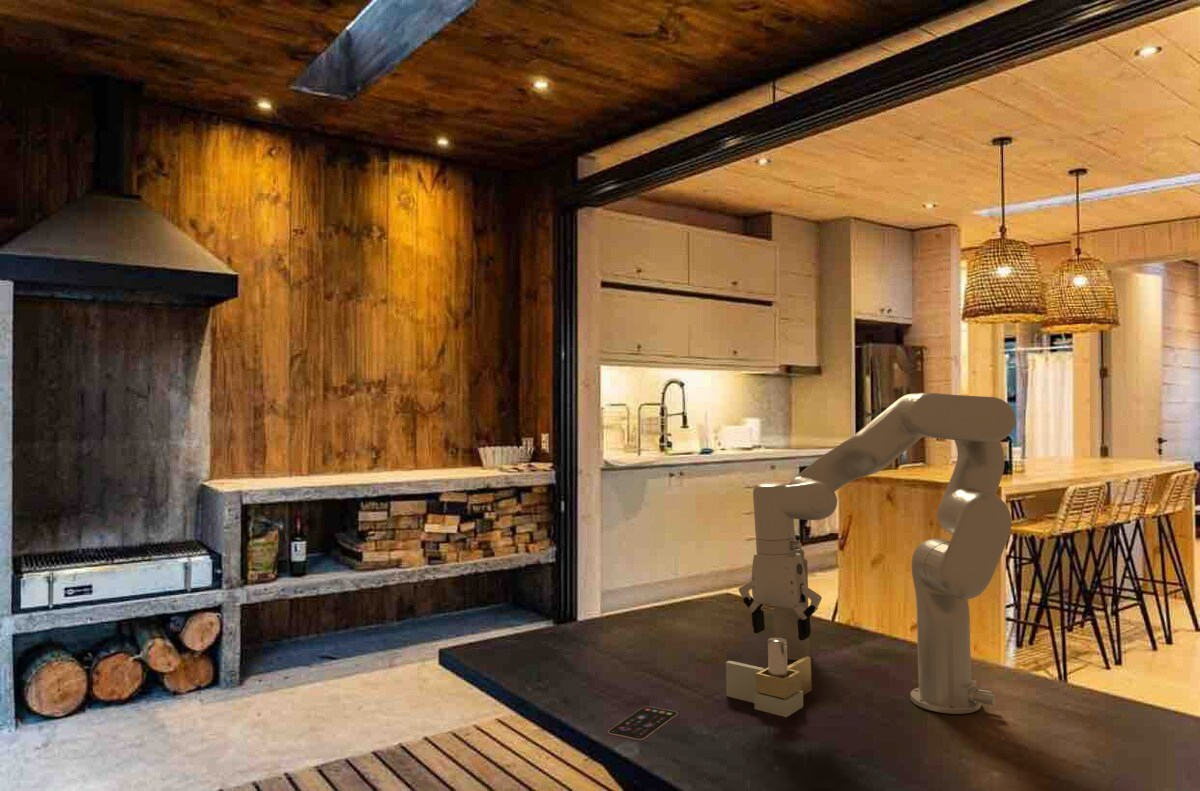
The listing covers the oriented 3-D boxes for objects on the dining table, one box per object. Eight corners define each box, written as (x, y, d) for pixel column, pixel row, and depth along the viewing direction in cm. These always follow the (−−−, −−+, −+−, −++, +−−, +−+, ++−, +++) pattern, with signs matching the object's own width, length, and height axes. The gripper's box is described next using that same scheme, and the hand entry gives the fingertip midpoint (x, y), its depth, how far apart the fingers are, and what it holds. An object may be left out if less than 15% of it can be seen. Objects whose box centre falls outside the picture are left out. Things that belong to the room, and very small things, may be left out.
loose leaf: (803, 706, 156) (802, 671, 157) (786, 717, 151) (785, 680, 151) (737, 690, 166) (736, 657, 166) (719, 699, 161) (718, 665, 161)
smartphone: (679, 711, 154) (642, 740, 142) (679, 715, 154) (642, 743, 142) (645, 705, 158) (605, 732, 146) (645, 708, 158) (605, 735, 146)
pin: (791, 707, 156) (790, 639, 157) (782, 712, 154) (780, 644, 154) (775, 703, 159) (773, 636, 159) (766, 708, 156) (764, 640, 156)
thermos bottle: (772, 649, 194) (770, 532, 194) (806, 649, 193) (803, 532, 193) (776, 659, 186) (774, 537, 186) (812, 660, 185) (809, 537, 186)
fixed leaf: (823, 693, 164) (822, 659, 164) (785, 716, 152) (784, 680, 152) (795, 686, 168) (794, 653, 168) (756, 708, 156) (755, 673, 156)
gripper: (826, 546, 154) (831, 636, 153) (747, 540, 165) (752, 624, 165) (807, 553, 148) (813, 646, 148) (727, 546, 160) (732, 633, 159)
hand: (781, 635), depth 156 cm, fingers open, 9 cm apart
